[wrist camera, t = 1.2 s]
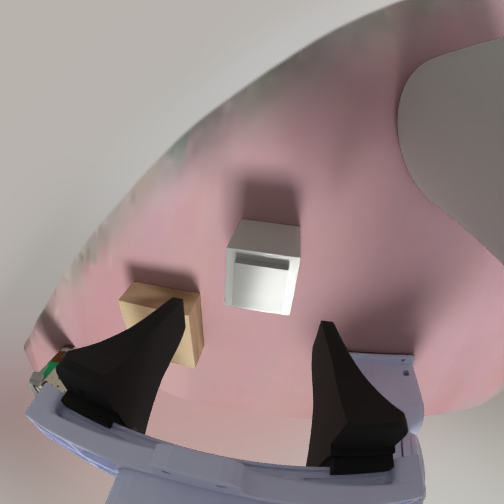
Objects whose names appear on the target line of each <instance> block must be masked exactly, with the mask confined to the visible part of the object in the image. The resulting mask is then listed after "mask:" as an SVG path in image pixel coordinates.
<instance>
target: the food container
mask: <svg viewBox="0 0 504 504" xmlns="http://www.w3.org/2000/svg"><path fill="white" fill-rule="evenodd" d="M74 349H76V348H75V346H72V345H65V346H64V347H63V348H62V349H61V350H60V351H59V352H58V353H57V354H56V355H55V356H54V357H53V358H52V359H51V360H50V362H49V363H48V364H47V365H46V366H45V367H44V368H43V369H42V370H41V371H40V372H33V374H32V376H31V378H30V383H29V387H30V389H31V391H32V392H33V394H34V395H35V396H37V394H38V393H39V391H40V390H41V388H42V387H43V386H44V384H45V383H49V384H50V385H52V386H54V387H55V388H57V389H59V390H60V391H62V392H63V393H64V394H65V393H66V391H67V389H66V388H65V386H64V385H63V383H62V382H61V380H60V379H59V377H58V375H57V373H56V369H55V368H56V366H57V364H58V363H59V362H60V360H61V359H62V358H63V356H64V355H65V354H66V352H67V351H69V350H74Z"/></svg>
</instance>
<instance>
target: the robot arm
mask: <svg viewBox="0 0 504 504" xmlns="http://www.w3.org/2000/svg"><path fill="white" fill-rule="evenodd" d="M185 328H186V324H185V314H184V302H183V299H180V298H175V297H172V298H171V299H169V300H168V301H167V302H165V303H164V304H163V305H161V306H160V307H159V308H157V309H156V310H155V311H154V312H152V313H151V314H149V315H148V316H147V317H145V318H144V319H142V320H141V321H139V322H138V323H136V324H135V325H133V326H132V327H130V328H128V329H127V330H125V331H123V332H121V333H119V334H117V335H115V336H113V337H111V338H108V339H106V340H104V341H101V342H99V343H96V344H93V345H90V346H86V347H83V348H78V349H74V350H69V351H67V352H66V354H65V355H64V356H63V358H62V359H61V360H60V362H59V363H58V364H57V366H56V368H55V369H56V373H57V375H58V377H59V379H60V380H61V382H62V383H63V385H64V386H65V388H66V389H67V391H66V393H65V394H64V393H63V392H62V391H60V390H59V389H57V388H55V387H54V386H52V385H50V384H49V383H45V384H44V386H43V387H42V388H41V390H40V391H39V393H38V394H37V396H36V397H35V399H34V400H33V402H32V403H31V405H30V406H29V407H28V409H27V411H26V412H25V415H26V416H27V417H28V418H29V419H30V420H31V421H32V422H33V423H34V424H35V425H36V426H37V427H38V428H39V429H40V430H41V431H42V432H43V433H44V434H45V435H46V436H47V437H49V438H50V439H52V440H53V441H55V442H56V443H58V444H59V445H61V446H62V447H64V448H65V449H67V450H69V451H70V452H72V453H74V454H75V455H77V456H78V457H80V458H82V459H83V460H85V461H87V462H88V463H90V464H92V465H94V466H95V467H97V468H99V469H101V470H103V471H105V472H107V473H109V474H110V475H113V476H114V477H116V479H115V482H114V484H113V486H112V489H111V491H110V493H109V496H108V498H107V501H106V503H105V504H423V501H424V499H425V496H426V488H425V469H424V462H423V456H422V451H421V447H420V444H419V440H418V438H417V436H416V435H417V434H418V432H419V430H420V428H421V426H422V423H423V418H424V404H423V400H422V396H421V392H420V389H419V385H418V382H417V378H416V375H415V372H414V368H413V365H412V363H413V362H414V360H415V357H414V356H413V355H388V354H368V353H353V352H348V350H347V348H346V347H345V345H344V343H343V341H342V339H341V337H340V335H339V333H338V331H337V329H336V327H335V325H334V323H333V322H329V321H321V323H320V326H319V330H318V333H317V336H316V339H315V342H314V345H313V350H312V383H313V417H312V428H311V437H310V444H309V452H308V457H307V463H306V467H305V466H288V465H277V464H268V463H259V462H252V461H246V460H240V459H233V458H229V457H224V456H218V455H214V454H209V453H205V452H201V451H197V450H193V449H189V448H185V447H182V446H178V445H175V444H171V443H168V442H165V441H162V440H159V439H156V438H153V437H150V436H147V435H145V432H146V428H147V424H148V420H149V417H150V413H151V410H152V406H153V403H154V400H155V397H156V394H157V391H158V388H159V386H160V383H161V380H162V378H163V376H164V374H165V372H166V370H167V368H168V366H169V364H170V362H171V360H172V358H173V356H174V354H175V352H176V350H177V348H178V346H179V344H180V342H181V340H182V337H183V334H184V331H185Z"/></svg>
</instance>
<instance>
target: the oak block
mask: <svg viewBox="0 0 504 504" xmlns="http://www.w3.org/2000/svg"><path fill="white" fill-rule="evenodd" d="M172 297H175V298H180V299H183V302H184V314H185V324H186V328H185V331H184V334H183V337H182V340H181V342H180V344H179V346H178V348H177V350H176V352H175V354H174V356H173V358H172V360H171V362H172V363H176V364H181V365H185V366H189V367H194V368H195V367H196V365H197V362H198V360H199V357H200V355H201V352H202V350H203V347H204V338H203V326H202V313H201V298H200V293H195V292H189V291H183V290H178V289H172V288H166V287H160V286H155V285H150V284H144V283H139V282H134V283H133V284H132V285H131V286H130V287H129V288H128V289H127V291H126V292H125V293H124V294H123V295H122V297H121V298H120V299H119V300H118V301H119V305H120V309H121V312H122V316H123V319H124V323H125V326H126V329H128V328H130V327H132V326H133V325H135V324H136V323H138V322H139V321H141V320H142V319H144V318H145V317H147V316H148V315H149V314H151V313H152V312H154V311H155V310H156V309H157V308H159V307H160V306H161V305H163V304H164V303H165V302H167V301H168V300H169V299H171V298H172Z"/></svg>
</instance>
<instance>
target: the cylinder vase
mask: <svg viewBox="0 0 504 504" xmlns="http://www.w3.org/2000/svg"><path fill="white" fill-rule="evenodd" d="M397 128H398V138H399V144H400V149H401V153H402V156H403V159H404V162H405V165H406V167H407V169H408V172H409V174H410V176H411V177H412V179H413V181H414V183H415V184H416V186H417V187H418V188H419V190H420V191H421V192H422V193H423V195H424V196H425V197H426V198H427V199H428V200H429V201H431V202H432V203H433V204H434V205H436V206H437V207H438V208H440V209H441V210H442V211H443V212H445V213H446V214H447V215H448V216H450V217H451V218H452V219H453V220H455V221H456V222H457V223H458V224H460V225H461V226H462V227H463V228H464V229H465V230H467V231H468V232H469V233H470V234H471V235H472V236H474V237H475V238H476V239H477V240H478V241H479V242H480V243H481V244H482V245H484V246H485V247H486V248H487V249H488V250H489V251H490V252H491V253H492V254H493V255H494V256H495V257H496V258H497V259H498V260H499V261H500V262H501V263H502V264H503V265H504V37H503V38H498V39H494V40H490V41H486V42H483V43H479V44H475V45H472V46H468V47H465V48H462V49H459V50H455V51H452V52H449V53H446V54H443V55H440V56H438V57H435V58H432V59H430V60H428V61H426V62H424V63H423V64H421V65H420V66H419V67H418V68H417V69H416V70H415V71H414V72H413V73H412V75H411V76H410V77H409V79H408V81H407V82H406V84H405V87H404V89H403V91H402V94H401V98H400V102H399V107H398V118H397Z"/></svg>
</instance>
